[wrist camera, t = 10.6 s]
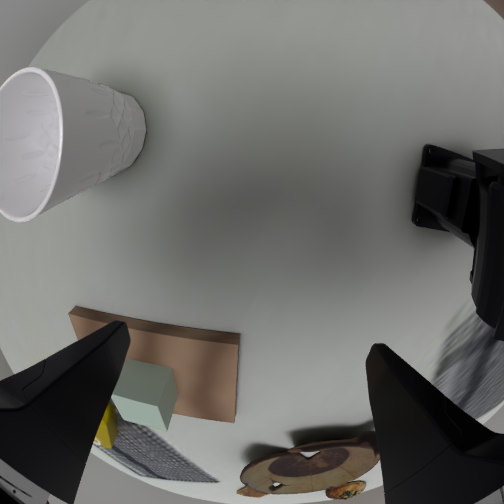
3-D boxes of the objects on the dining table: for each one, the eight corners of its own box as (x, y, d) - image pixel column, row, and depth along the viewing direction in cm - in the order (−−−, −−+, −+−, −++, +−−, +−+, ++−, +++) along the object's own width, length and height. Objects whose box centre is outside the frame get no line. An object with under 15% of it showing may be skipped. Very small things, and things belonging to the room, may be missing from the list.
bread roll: (316, 492, 47) (319, 506, 42) (343, 475, 44) (347, 491, 39) (346, 490, 49) (350, 503, 44) (373, 473, 46) (378, 487, 41)
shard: (250, 480, 43) (249, 487, 42) (281, 483, 44) (281, 490, 42) (235, 489, 48) (235, 494, 46) (263, 492, 48) (263, 498, 47)
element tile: (115, 400, 32) (104, 424, 28) (119, 434, 38) (111, 453, 34) (39, 358, 31) (25, 376, 26) (55, 401, 37) (45, 417, 32)
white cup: (117, 201, 19) (31, 252, 10) (60, 147, 18) (-29, 170, 8) (175, 119, 17) (91, 112, 8) (107, 68, 15) (15, 47, 6)
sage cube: (171, 367, 24) (157, 406, 20) (177, 395, 26) (167, 431, 22) (127, 358, 25) (109, 393, 20) (137, 386, 27) (123, 419, 22)
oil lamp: (211, 445, 35) (204, 485, 28) (401, 384, 27) (418, 432, 20) (279, 479, 42) (279, 508, 35) (419, 434, 34) (429, 466, 26)
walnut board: (239, 333, 24) (238, 344, 22) (235, 413, 30) (234, 422, 28) (75, 305, 24) (68, 313, 23) (107, 386, 30) (103, 394, 29)
